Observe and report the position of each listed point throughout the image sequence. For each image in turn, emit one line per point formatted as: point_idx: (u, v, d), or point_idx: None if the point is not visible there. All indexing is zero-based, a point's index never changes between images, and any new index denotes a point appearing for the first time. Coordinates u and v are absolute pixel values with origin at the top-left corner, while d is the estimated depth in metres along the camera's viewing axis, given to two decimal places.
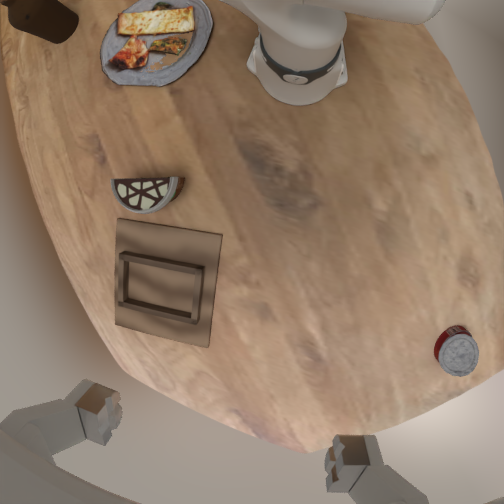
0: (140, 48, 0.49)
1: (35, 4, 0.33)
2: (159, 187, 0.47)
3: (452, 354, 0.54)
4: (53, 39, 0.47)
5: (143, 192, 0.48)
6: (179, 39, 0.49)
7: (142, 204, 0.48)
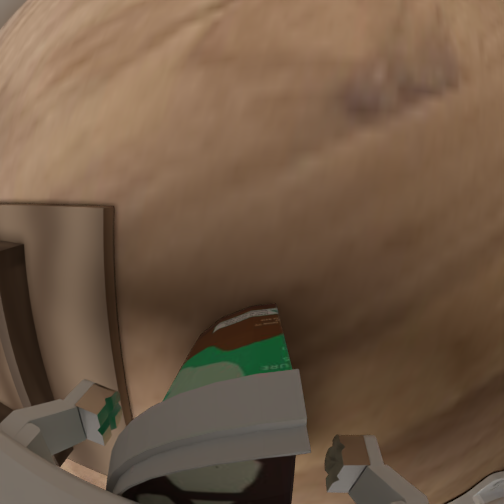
0: None
1: None
2: None
3: None
4: None
5: None
6: None
7: None
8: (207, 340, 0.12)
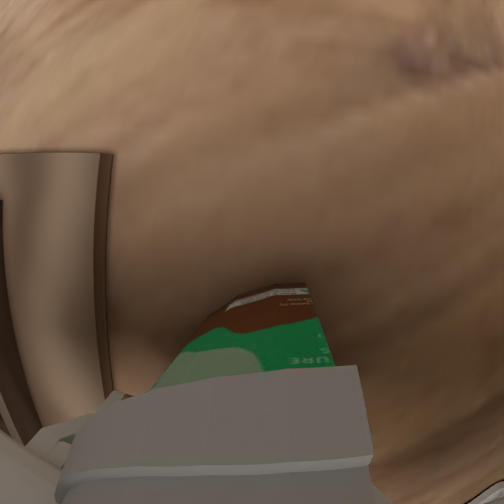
0: None
1: None
2: None
3: None
4: None
5: None
6: None
7: None
8: (216, 320, 0.10)
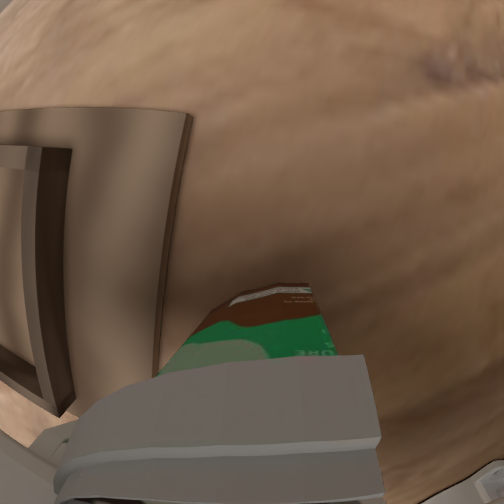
0: None
1: None
2: None
3: None
4: None
5: None
6: None
7: None
8: (220, 314, 0.10)
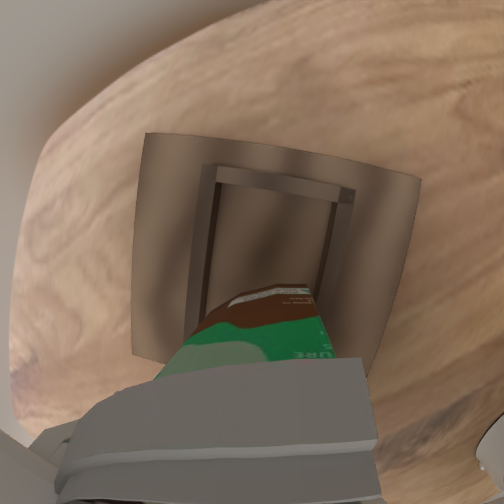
0: None
1: None
2: None
3: None
4: None
5: None
6: None
7: None
8: (219, 315, 0.10)
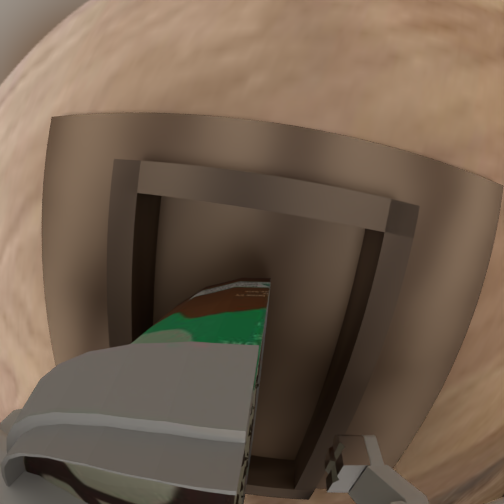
0: None
1: None
2: None
3: None
4: None
5: None
6: None
7: None
8: (178, 307, 0.10)
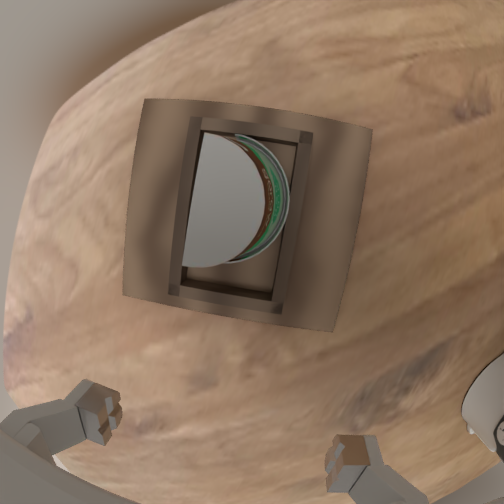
0: None
1: None
2: None
3: None
4: None
5: None
6: None
7: None
8: (251, 153, 0.21)
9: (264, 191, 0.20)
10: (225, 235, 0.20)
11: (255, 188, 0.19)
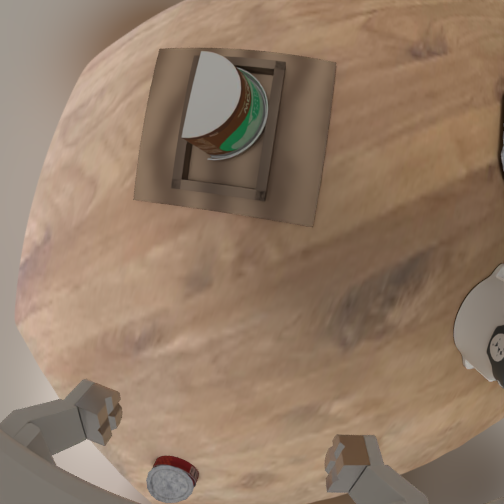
0: None
1: None
2: None
3: (169, 477, 0.48)
4: None
5: None
6: None
7: None
8: None
9: (241, 82, 0.25)
10: (213, 112, 0.26)
11: (234, 80, 0.25)
